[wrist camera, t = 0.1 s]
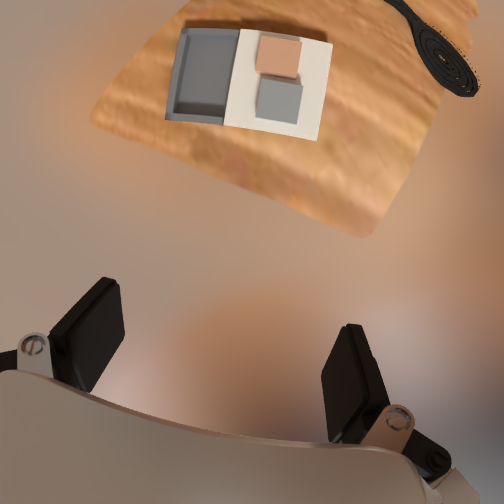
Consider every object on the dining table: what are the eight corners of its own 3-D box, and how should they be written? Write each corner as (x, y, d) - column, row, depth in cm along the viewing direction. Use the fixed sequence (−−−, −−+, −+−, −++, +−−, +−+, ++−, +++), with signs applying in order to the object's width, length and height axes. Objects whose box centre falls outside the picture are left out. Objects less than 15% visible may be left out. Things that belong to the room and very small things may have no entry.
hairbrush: (381, -37, 20) (490, 82, 25) (375, -27, 24) (478, 84, 28) (349, -20, 23) (466, 106, 28) (345, -9, 27) (454, 108, 31)
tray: (187, 33, 31) (181, 28, 28) (241, 35, 31) (239, 29, 28) (170, 120, 36) (164, 119, 34) (225, 125, 36) (221, 124, 34)
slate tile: (262, 81, 31) (261, 78, 29) (301, 88, 31) (303, 86, 29) (256, 118, 33) (255, 117, 31) (295, 125, 33) (296, 124, 31)
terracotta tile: (262, 40, 28) (261, 35, 27) (300, 46, 28) (302, 42, 27) (256, 73, 30) (254, 70, 29) (295, 80, 30) (296, 77, 29)
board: (243, 35, 31) (240, 28, 28) (328, 50, 31) (333, 44, 28) (227, 125, 36) (223, 124, 34) (313, 140, 36) (316, 141, 33)
